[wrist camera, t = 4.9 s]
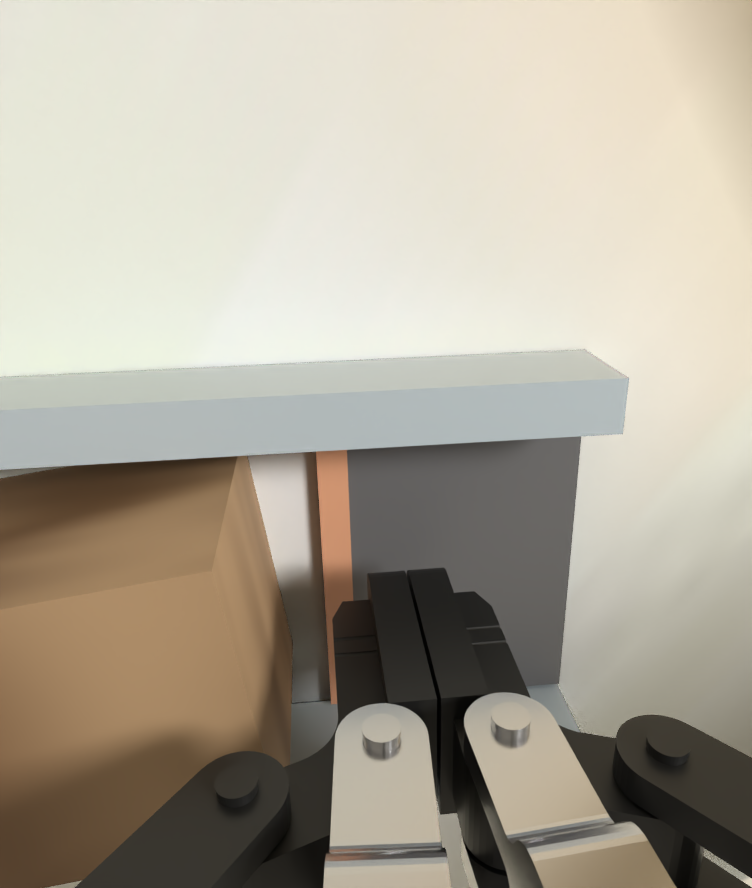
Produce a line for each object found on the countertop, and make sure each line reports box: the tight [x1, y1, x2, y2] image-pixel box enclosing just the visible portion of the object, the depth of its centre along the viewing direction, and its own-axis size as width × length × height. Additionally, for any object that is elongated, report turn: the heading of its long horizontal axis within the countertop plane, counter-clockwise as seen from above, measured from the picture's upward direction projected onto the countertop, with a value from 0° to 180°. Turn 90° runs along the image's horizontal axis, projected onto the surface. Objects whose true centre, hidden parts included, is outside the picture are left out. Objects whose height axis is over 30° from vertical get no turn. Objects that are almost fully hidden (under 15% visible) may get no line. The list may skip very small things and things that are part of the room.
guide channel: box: [0, 349, 629, 765], centre depth 14 cm, size 20×9×2 cm, turn 91°
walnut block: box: [0, 456, 293, 888], centre depth 12 cm, size 8×5×5 cm, turn 99°
